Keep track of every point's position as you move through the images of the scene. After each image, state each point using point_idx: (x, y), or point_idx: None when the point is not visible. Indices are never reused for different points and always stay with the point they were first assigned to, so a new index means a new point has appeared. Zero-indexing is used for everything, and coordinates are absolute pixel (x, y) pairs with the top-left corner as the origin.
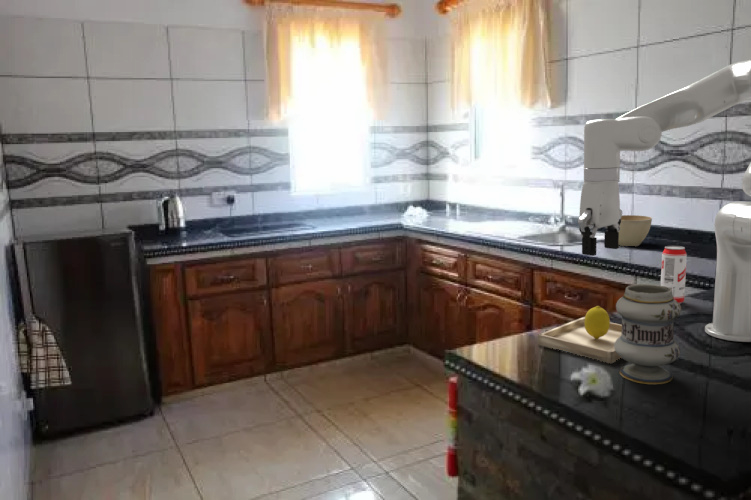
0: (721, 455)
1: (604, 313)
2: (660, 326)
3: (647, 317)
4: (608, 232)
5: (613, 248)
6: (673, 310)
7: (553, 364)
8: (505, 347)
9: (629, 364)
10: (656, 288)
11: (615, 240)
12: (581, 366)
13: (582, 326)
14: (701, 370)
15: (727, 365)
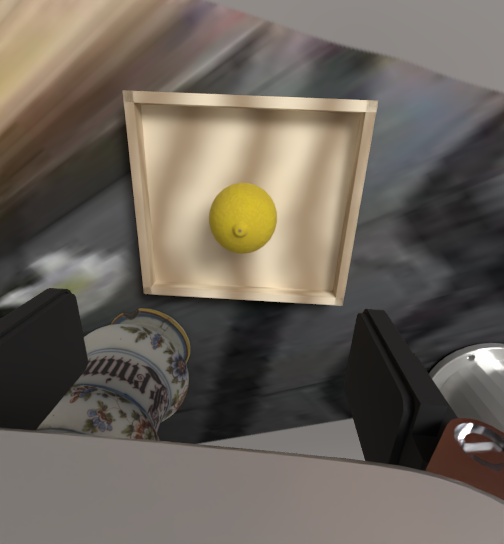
0: None
1: (235, 250)
2: None
3: None
4: (393, 433)
5: (347, 368)
6: None
7: (61, 201)
8: (50, 30)
9: (158, 317)
10: None
11: (358, 426)
12: (98, 249)
13: (330, 121)
14: (233, 393)
15: (283, 412)
